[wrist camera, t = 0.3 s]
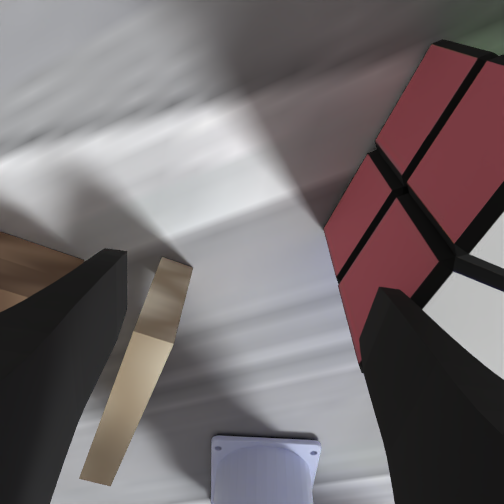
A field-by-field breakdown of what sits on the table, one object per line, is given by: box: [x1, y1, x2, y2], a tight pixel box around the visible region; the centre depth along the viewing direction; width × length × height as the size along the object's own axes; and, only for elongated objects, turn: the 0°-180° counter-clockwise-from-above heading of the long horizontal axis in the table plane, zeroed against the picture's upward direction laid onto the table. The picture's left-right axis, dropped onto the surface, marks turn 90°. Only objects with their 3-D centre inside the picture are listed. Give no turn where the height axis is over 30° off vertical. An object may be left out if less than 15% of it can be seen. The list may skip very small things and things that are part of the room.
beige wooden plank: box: [79, 257, 193, 486], centre depth 24 cm, size 2×12×6 cm, turn 157°
